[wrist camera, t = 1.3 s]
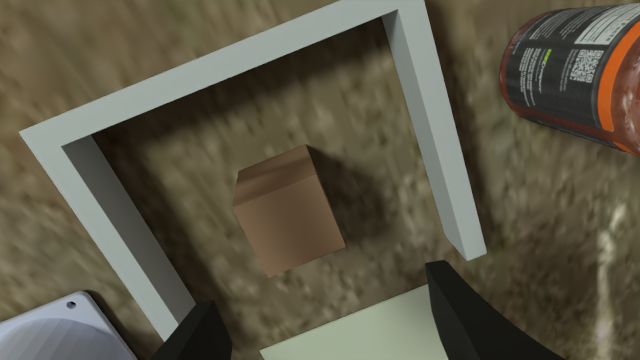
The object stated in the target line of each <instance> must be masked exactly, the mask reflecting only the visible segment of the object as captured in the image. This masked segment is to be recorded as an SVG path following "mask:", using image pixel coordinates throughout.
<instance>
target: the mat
mask: <svg viewBox="0 0 640 360" xmlns="http://www.w3.org/2000/svg"><path fill="white" fill-rule="evenodd" d="M260 353H261V354H262V356H263V358H264V359H265V360H448V357H447V355H446V352H445V350H444V348H443V345H442V343H441V340H440V337H439V334H438V331H437V328H436V324H435V321H434V317H433V314H432V311H431V303H430V296H429V288H428V284H426V285H423V286H421V287H418V288H416V289H413V290H410V291H408V292H405V293H403V294H400V295H398V296H395V297H393V298H390V299H388V300H385V301H383V302H380V303H378V304H375V305H373V306H370V307H368V308H365V309H363V310H360V311H358V312H355V313H353V314H350V315H348V316H345V317H342V318H340V319H337V320H335V321H332V322H330V323H327V324H325V325H322V326H320V327H317V328H315V329H312V330H310V331H307V332H305V333H302V334H300V335H297V336H295V337H292V338H290V339H287V340H285V341H282V342H279V343H277V344H274V345H272V346H269V347H267V348H264V349H262V350H260Z"/></svg>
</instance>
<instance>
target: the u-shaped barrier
mask: <svg viewBox="0 0 640 360" xmlns="http://www.w3.org/2000/svg"><path fill="white" fill-rule="evenodd" d="M379 16H381V18H382V21H383V24H384V28H385V31H386V35H387V38H388V41H389V45H390V48H391V52H392V55H393V59H394V62H395V65H396V69H397V72H398V76H399V79H400V83H401V86H402V89H403V93H404V96H405V100H406V103H407V107H408V110H409V113H410V117H411V120H412V124H413V127H414V130H415V134H416V137H417V141H418V144H419V148H420V151H421V154H422V158H423V161H424V165H425V168H426V172H427V175H428V178H429V182H430V185H431V189H432V192H433V196H434V199H435V202H436V206H437V209H438V213H439V216H440V220H441V223H442V226H443V230H444V233H445V236H446V237H447V238H448V240H449V241H450V242H451V243H452V244H453V245H454V246H455V248H456V249H457V250H458V251H459V252H460V253H461V254H462V256H463V257H464V258H465V259H466V260H467V261H469V260H471V259H474V258H476V257H479V256H481V255H484V254H487V251H486V247H485V243H484V239H483V235H482V231H481V227H480V223H479V219H478V215H477V211H476V207H475V203H474V199H473V195H472V191H471V187H470V183H469V179H468V175H467V171H466V167H465V163H464V159H463V155H462V151H461V147H460V143H459V139H458V135H457V131H456V127H455V123H454V119H453V115H452V110H451V106H450V102H449V98H448V94H447V90H446V86H445V82H444V78H443V74H442V70H441V66H440V62H439V58H438V54H437V50H436V46H435V42H434V38H433V34H432V30H431V26H430V22H429V18H428V14H427V10H426V6H425V2H424V0H339V1H337V2H334V3H332V4H329V5H327V6H325V7H322V8H320V9H317V10H315V11H312V12H310V13H307V14H305V15H303V16H300V17H298V18H295V19H293V20H290V21H288V22H285V23H283V24H280V25H278V26H276V27H273V28H271V29H268V30H266V31H263V32H261V33H258V34H256V35H254V36H251V37H249V38H246V39H244V40H241V41H239V42H236V43H234V44H232V45H229V46H227V47H224V48H222V49H219V50H217V51H214V52H212V53H209V54H207V55H205V56H202V57H200V58H197V59H195V60H192V61H190V62H187V63H185V64H183V65H180V66H178V67H175V68H173V69H170V70H168V71H165V72H163V73H160V74H158V75H156V76H153V77H151V78H148V79H146V80H143V81H141V82H138V83H136V84H134V85H131V86H129V87H126V88H124V89H121V90H119V91H116V92H114V93H112V94H109V95H107V96H104V97H102V98H99V99H97V100H94V101H92V102H89V103H87V104H85V105H82V106H80V107H77V108H75V109H72V110H70V111H67V112H65V113H63V114H60V115H58V116H55V117H53V118H50V119H48V120H46V121H43V122H41V123H39V124H36V125H34V126H32V127H29V128H27V129H24V130H22V131H20V132H19V133H20V135H21V136H22V138H23V139H24V141H25V142H26V143H27V145H28V146H29V148H30V149H31V151H32V152H33V154H34V155H35V156H36V158H37V159H38V161H39V162H40V164H41V165H42V166H43V168H44V169H45V171H46V172H47V174H48V175H49V177H50V178H51V179H52V181H53V182H54V184H55V185H56V187H57V188H58V190H59V191H60V192H61V194H62V195H63V197H64V198H65V200H66V201H67V202H68V204H69V205H70V207H71V208H72V210H73V211H74V213H75V214H76V215H77V217H78V218H79V220H80V221H81V223H82V224H83V225H84V227H85V228H86V230H87V231H88V233H89V234H90V236H91V237H92V238H93V240H94V241H95V243H96V244H97V246H98V247H99V249H100V250H101V251H102V253H103V254H104V256H105V257H106V259H107V260H108V261H109V263H110V264H111V266H112V267H113V269H114V270H115V272H116V273H117V274H118V276H119V277H120V279H121V280H122V282H123V283H124V284H125V286H126V287H127V289H128V290H129V292H130V293H131V295H132V296H133V297H134V299H135V300H136V302H137V303H138V305H139V306H140V307H141V309H142V310H143V312H144V313H145V315H146V316H147V318H148V319H149V320H150V322H151V323H152V325H153V326H154V328H155V329H156V331H157V332H158V333H159V335H160V336H161V338H162V339H163V341H164V342H165V341H166V340H167V339H168V338H169V336H170V335H171V334H172V333H173V332H174V330H175V329H176V328H177V327H178V325H179V324H180V323H181V322H182V320H183V319H184V318H185V317H186V315H187V314H188V313H189V312H190V311H191V309H192V308H193V307H194V306H195V305H196V303H195V301H194V299H193V298H192V296H191V295H190V293H189V291H188V290H187V288H186V287H185V285H184V283H183V282H182V280H181V279H180V277H179V275H178V274H177V272H176V271H175V269H174V267H173V266H172V264H171V263H170V261H169V259H168V258H167V256H166V255H165V253H164V251H163V250H162V248H161V247H160V245H159V243H158V242H157V240H156V238H155V237H154V235H153V234H152V232H151V230H150V229H149V227H148V226H147V224H146V222H145V221H144V219H143V218H142V216H141V214H140V213H139V211H138V210H137V208H136V206H135V205H134V203H133V202H132V200H131V198H130V197H129V195H128V194H127V192H126V190H125V189H124V187H123V186H122V184H121V182H120V181H119V179H118V178H117V176H116V174H115V173H114V171H113V169H112V168H111V166H110V165H109V163H108V161H107V160H106V158H105V157H104V155H103V153H102V152H101V150H100V149H99V147H98V145H97V144H96V142H95V141H94V139H93V137H92V136H91V134H92V133H95V132H97V131H100V130H102V129H104V128H107V127H109V126H112V125H114V124H117V123H119V122H122V121H124V120H127V119H129V118H131V117H134V116H136V115H139V114H141V113H144V112H146V111H149V110H151V109H154V108H156V107H159V106H161V105H163V104H166V103H168V102H171V101H173V100H176V99H178V98H181V97H183V96H186V95H188V94H190V93H193V92H195V91H198V90H200V89H203V88H205V87H208V86H210V85H213V84H215V83H217V82H220V81H222V80H225V79H227V78H230V77H232V76H235V75H237V74H240V73H242V72H244V71H247V70H249V69H252V68H254V67H257V66H259V65H262V64H264V63H267V62H269V61H271V60H274V59H276V58H279V57H281V56H284V55H286V54H289V53H291V52H294V51H296V50H298V49H301V48H303V47H306V46H308V45H311V44H313V43H316V42H318V41H321V40H323V39H325V38H328V37H330V36H333V35H335V34H338V33H340V32H343V31H345V30H348V29H350V28H352V27H355V26H357V25H360V24H362V23H365V22H367V21H370V20H372V19H375V18H377V17H379Z"/></svg>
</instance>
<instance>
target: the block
mask: <svg viewBox="0 0 640 360" xmlns="http://www.w3.org/2000/svg"><path fill="white" fill-rule="evenodd" d="M232 209H233V211H234V213H235V215H236V217H237V218H238V220H239V222H240V224H241V226H242V228H243V230H244V232H245V234H246V236H247V238H248V240H249V242H250V244H251V245H252V247H253V249H254V251H255V253H256V255H257V257H258V259H259V261H260V263H261V265H262V267H263V269H264V271H265V272H266V274H267V276H268V278H269V277H272V276H274V275H277V274H279V273H282V272H284V271H287V270H289V269H292V268H294V267H297V266H299V265H302V264H304V263H307V262H309V261H312V260H314V259H317V258H319V257H322V256H324V255H327V254H329V253H332V252H334V251H337V250H339V249H342V248H344V247H346V245H345V243H344V240H343V237H342V235H341V232H340V229H339V227H338V224H337V221H336V219H335V216H334V213H333V211H332V208H331V205H330V203H329V200H328V198H327V196H326V193H325V191H324V188H323V186H322V183H321V181H320V178H319V176H318V174H317V171H316V169H315V166H314V164H313V161H312V159H311V156H310V154H309V151H308V149H307V147H306V144H305V145H302V146H300V147H297V148H295V149H292V150H290V151H287V152H285V153H282V154H280V155H278V156H275V157H273V158H270V159H268V160H265V161H263V162H260V163H258V164H255V165H253V166H250V167H248V168H245V169H243V170H240V171H239V172H238V178H237V184H236V189H235V195H234V200H233V206H232Z"/></svg>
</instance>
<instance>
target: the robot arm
mask: <svg viewBox="0 0 640 360" xmlns="http://www.w3.org/2000/svg"><path fill="white" fill-rule="evenodd" d="M425 266H426V273H427V281H428V288H429V296H430V303H431V311H432V314H433V317H434V321H435V324H436V328H437V331H438V334H439V337H440V340H441V343H442V345H443V348H444V350H445V352H446V355H447V357H448V360H566V359H564V358H562V357H560V356H559V355H557V354H555V353H554V352H552V351H551V350H549V349H548V348H546V347H545V346H543V345H542V344H540V343H538V342H537V341H536V340H534V339H533V338H531V337H530V336H528V335H527V334H526V333H524V332H523V331H522V330H520V329H519V328H518V327H516V326H515V325H514V324H512V323H511V322H510V321H509V320H507V319H506V318H505V317H504V316H502V315H501V314H500V313H499V312H498V311H496V310H495V309H494V308H493V307H492V306H491V305H489V304H488V303H487V302H486V301H485V300H484V299H483V298H482V297H481V296H480V295H479V294H477V293H476V292H475V291H474V290H473V289H472V288H471V287H470V286H469V285H468V284H467V283H466V282H465V281H464V280H463V279H462V278H461V277H460V276H459V274H458V273H457V272H456V271H455V270H454V269H453V268H452V267H451V266H450V264H449V263H448V262H447V261H445V260H441V261H435V262H429V263H425ZM70 302H74V303H76V305H73V304H71V303H70ZM231 352H232V341H231V339H230V336H229V334H228V332H227V330H226V327H225V325H224V323H223V320H222V318H221V316H220V313H219V311H218V309H217V306H216V304H215V302H214V300H213V301H207V302H201V303H197V304H196V305H195V306H194V307H193V308H192V309H191V311H190V312H189V313H188V314H187V315H186V317H185V318H184V319H183V320H182V322H181V323H180V324H179V325H178V327H177V328H176V329H175V330H174V332H173V333H172V334H171V335H170V336H169V338H168V339H167V340H166V341H165V342H164V344H163V345H162V346H161V347H160V348H159V350H158V351H157V352H156V353H155V354H154V355H153V356H152V358H151V359H150V360H231ZM0 360H138V359H137V358H136V356H135V355H134V354H133V352H132V351H131V350H130V348H129V347H128V346H127V344H126V343H125V342H124V340H123V339H122V338H121V336H120V335H119V334H118V332H117V331H116V330H115V328H114V327H113V326H112V324H111V323H110V322H109V320H108V319H107V318H106V316H105V315H104V314H103V312H102V311H101V310H100V308H99V307H98V306H97V304H96V303H95V302H94V300H93V299H92V298H91V296H90V295H89V294H88V293H86V292H84V291H79V292H75V293H73V294H70V295H68V296H65V297H63V298H60V299H58V300H55V301H53V302H50V303H48V304H45V305H43V306H40V307H38V308H36V309H33V310H31V311H28V312H26V313H23V314H21V315H18V316H16V317H13V318H11V319H8V320H6V321H3V322H1V323H0Z"/></svg>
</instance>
